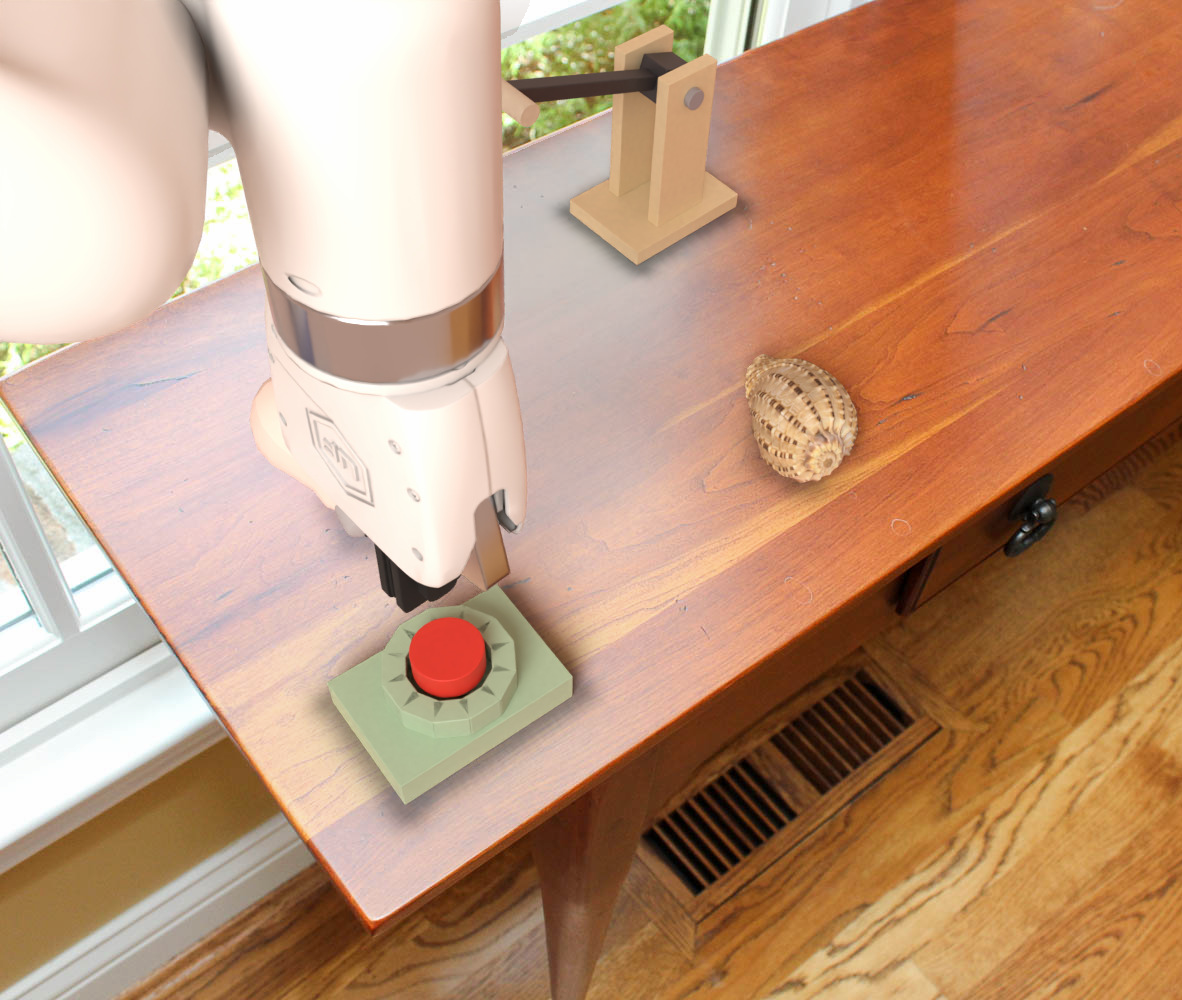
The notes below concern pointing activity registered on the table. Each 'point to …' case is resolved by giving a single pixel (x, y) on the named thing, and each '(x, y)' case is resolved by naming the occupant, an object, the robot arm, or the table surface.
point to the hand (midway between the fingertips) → (423, 583)
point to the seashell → (799, 417)
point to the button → (447, 657)
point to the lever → (584, 86)
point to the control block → (458, 724)
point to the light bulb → (286, 450)
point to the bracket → (657, 158)
